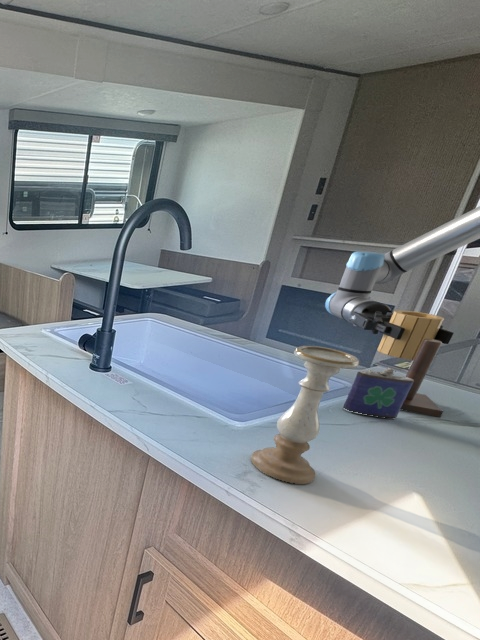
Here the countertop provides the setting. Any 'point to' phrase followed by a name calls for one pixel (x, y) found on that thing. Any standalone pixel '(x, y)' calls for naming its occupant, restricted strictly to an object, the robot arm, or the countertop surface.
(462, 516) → the countertop surface
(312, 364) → the candle holder
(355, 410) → the flask
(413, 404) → the stand
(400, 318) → the wooden container
